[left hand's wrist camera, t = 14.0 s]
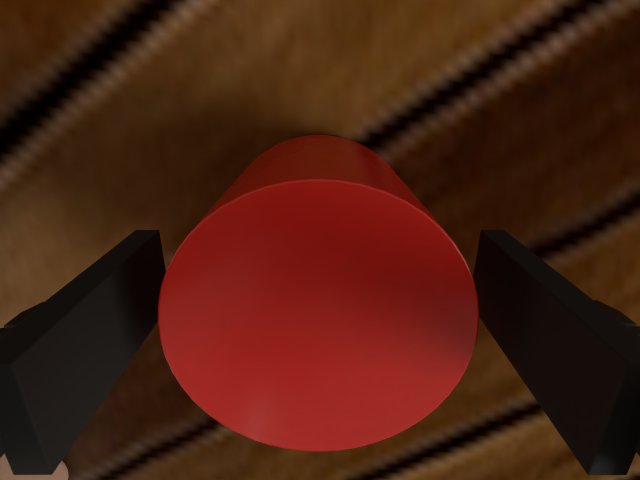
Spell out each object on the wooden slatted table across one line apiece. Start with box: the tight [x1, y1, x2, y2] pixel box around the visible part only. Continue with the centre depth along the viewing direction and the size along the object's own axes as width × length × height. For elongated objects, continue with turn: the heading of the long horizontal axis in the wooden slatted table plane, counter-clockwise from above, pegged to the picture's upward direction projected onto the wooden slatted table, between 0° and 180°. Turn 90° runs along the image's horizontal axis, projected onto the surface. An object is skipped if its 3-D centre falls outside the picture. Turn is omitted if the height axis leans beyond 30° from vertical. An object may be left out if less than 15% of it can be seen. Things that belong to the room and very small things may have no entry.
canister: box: [158, 135, 479, 451], centre depth 13 cm, size 8×8×8 cm
